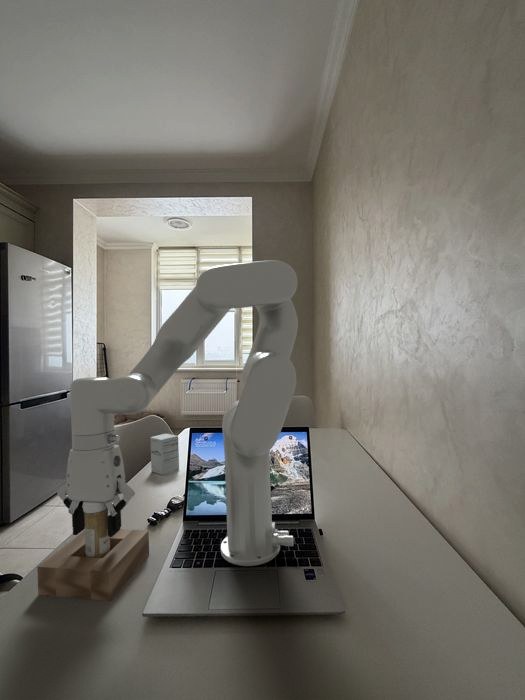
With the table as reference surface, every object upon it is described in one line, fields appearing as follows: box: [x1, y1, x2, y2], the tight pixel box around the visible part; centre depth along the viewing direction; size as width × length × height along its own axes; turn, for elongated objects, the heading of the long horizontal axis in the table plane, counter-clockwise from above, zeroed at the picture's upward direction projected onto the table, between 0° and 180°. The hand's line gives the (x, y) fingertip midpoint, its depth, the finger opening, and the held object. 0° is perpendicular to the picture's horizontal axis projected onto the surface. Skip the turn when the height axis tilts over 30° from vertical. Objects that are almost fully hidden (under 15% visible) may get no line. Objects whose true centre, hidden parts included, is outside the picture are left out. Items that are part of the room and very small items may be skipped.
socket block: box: [36, 528, 150, 602], centre depth 69 cm, size 14×14×5 cm
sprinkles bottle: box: [83, 501, 110, 558], centre depth 69 cm, size 5×5×14 cm
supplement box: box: [150, 433, 180, 476], centre depth 128 cm, size 7×7×13 cm
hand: (97, 531), depth 69 cm, fingers open, 6 cm apart
